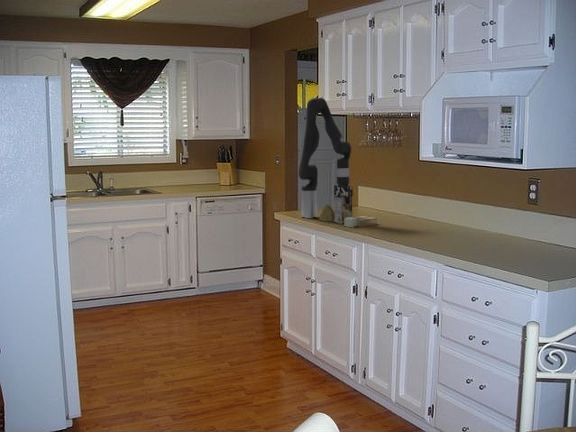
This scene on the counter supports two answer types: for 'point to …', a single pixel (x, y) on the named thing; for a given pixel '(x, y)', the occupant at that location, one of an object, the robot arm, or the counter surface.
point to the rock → (327, 214)
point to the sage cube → (350, 222)
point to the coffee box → (342, 208)
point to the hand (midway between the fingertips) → (343, 203)
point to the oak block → (365, 220)
